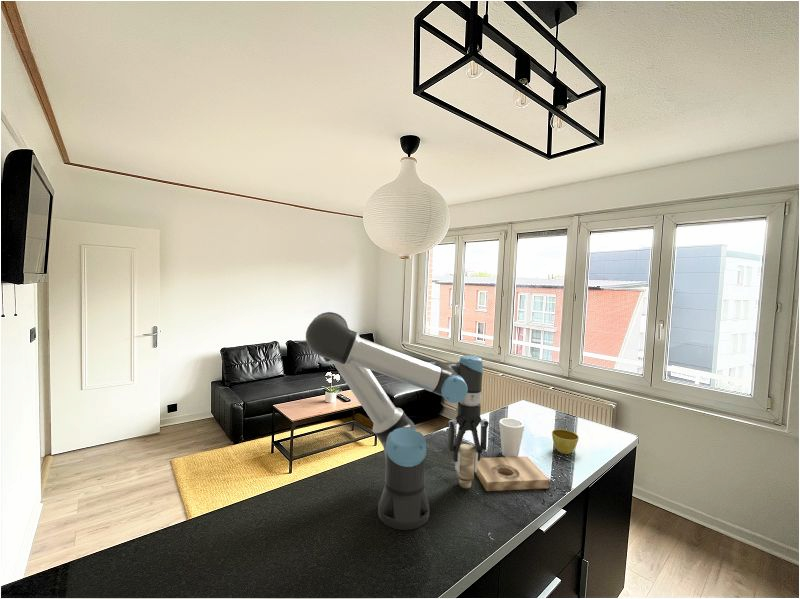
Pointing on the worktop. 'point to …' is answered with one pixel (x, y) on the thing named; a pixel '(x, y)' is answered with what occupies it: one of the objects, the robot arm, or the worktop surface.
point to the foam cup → (511, 436)
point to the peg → (466, 465)
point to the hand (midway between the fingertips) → (465, 469)
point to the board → (510, 474)
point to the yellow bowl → (564, 440)
